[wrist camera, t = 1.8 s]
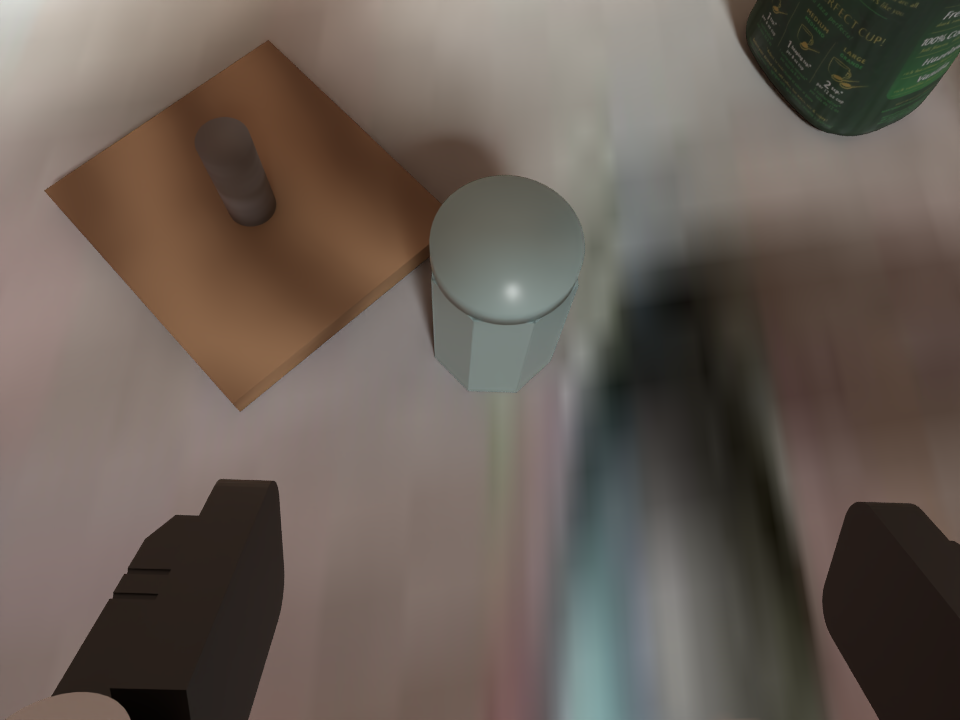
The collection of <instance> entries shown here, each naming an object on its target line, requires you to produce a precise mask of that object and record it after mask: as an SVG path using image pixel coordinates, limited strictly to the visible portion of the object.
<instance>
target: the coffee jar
mask: <svg viewBox="0 0 960 720" xmlns="http://www.w3.org/2000/svg"><path fill="white" fill-rule="evenodd" d="M746 37H747V41H748V45H749V47H750V49H751V51H752V53H753V55H754V57H755V58H756V60H757V62H758V63H759V65H760V67H761V68H762V69H763V71H764V72H765V74H766V75H767V76H768V78H769V80H770V81H771V82H772V83H773V84H774V85H775V87H776V88H777V89H778V90H779V92H780V93H781V94H782V95H783V96H784V97H785V99H786V100H787V101H788V102H789V103H790V104H791V105H792V106H793V107H794V108H795V109H796V110H797V111H798V112H799V113H800V114H801V115H802V116H803V117H804V118H805V119H806V120H807V121H808V122H810V123H811V124H812V125H813V126H815V127H816V128H818V129H820V130H822V131H824V132H826V133H832V134H837V135H842V136H857V135H863V134H867V133H870V132H873V131H877V130H879V129H881V128H883V127H885V126H888V125H890V124H892V123H894V122H896V121H898V120H900V119H902V118H903V117H905V116H906V115H908V114H910V113H911V112H912V111H913V110H915V109H916V108H917V107H918V106H919V105H920V104H921V103H922V102H923V101H924V100H925V99H926V97H927V96H928V95H929V94H930V92H931V91H932V90H933V89H934V87H935V86H936V85H937V83H938V82H939V81H940V79H941V78H942V77H943V75H944V74H945V73H946V71H947V70H948V68H949V67H950V66H951V64H952V63H953V61H954V60H955V58H956V57H957V56H958V54H959V53H960V0H757V2H756V4H755V6H754V7H753V9H752V11H751V13H750V15H749V18H748V21H747V26H746Z"/></svg>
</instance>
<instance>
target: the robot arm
mask: <svg viewBox="0 0 960 720" xmlns="http://www.w3.org/2000/svg"><path fill="white" fill-rule="evenodd" d="M283 590H284V560H283V546H282V531H281V516H280V502H279V491H278V486H277V484H276V482H275V481H261V480H231V479H220V480H218V481H217V483H216V484H215V486H214V488H213V490H212V492H211V494H210V495H209V497H208V499H207V501H206V503H205V505H204V507H203V509H202V511H201V513H200V515H199V516H190V515H175V516H174V517H173V518H171V519H170V520H169V521H167V522H166V523H165V524H164V525H162V526H161V527H160V528H159V529H157V530H156V531H155V532H154V533H152V534H151V535H150V536H149V537H147V538H146V539H145V540H144V542H143V544H142V545H141V547H140V549H139V550H138V552H137V554H136V555H135V557H134V559H133V560H132V562H131V564H130V565H129V567H128V573H127V574H124V575H123V577H122V579H121V580H120V582H119V584H118V586H117V587H116V589H115V591H114V592H113V598H112V599H109V601H108V602H107V604H106V606H105V607H104V609H103V611H102V612H101V614H100V616H99V617H98V619H97V621H96V622H95V624H94V626H93V627H92V629H91V631H90V632H89V634H88V636H87V638H86V639H85V641H84V643H83V644H82V646H81V648H80V649H79V651H78V653H77V654H76V656H75V658H74V659H73V661H72V663H71V664H70V666H69V668H68V669H67V671H66V673H65V674H64V676H63V678H62V679H61V681H60V683H59V684H58V686H57V688H56V689H55V691H54V693H53V694H52V696H51V697H48V698H46V699H43V700H40V701H38V702H35V703H33V704H31V705H29V706H27V707H25V708H23V709H21V710H19V711H17V712H16V713H14V714H13V715H11V716H9V717H8V718H7V719H5V720H248V718H249V715H250V711H251V708H252V705H253V702H254V698H255V695H256V692H257V688H258V685H259V682H260V678H261V675H262V672H263V669H264V665H265V662H266V659H267V655H268V652H269V649H270V645H271V642H272V639H273V635H274V632H275V629H276V626H277V622H278V619H279V615H280V611H281V605H282V599H283ZM822 603H823V614H824V619H825V622H826V626H827V628H828V631H829V633H830V635H831V637H832V638H833V640H834V642H835V644H836V645H837V647H838V649H839V651H840V652H841V654H842V656H843V658H844V659H845V661H846V663H847V664H848V666H849V668H850V670H851V671H852V673H853V675H854V677H855V678H856V680H857V682H858V683H859V685H860V687H861V689H862V690H863V692H864V694H865V696H866V697H867V699H868V701H869V702H870V704H871V706H872V708H873V709H874V711H875V713H876V715H877V716H878V718H879V720H960V545H959V544H958V543H956V542H955V541H949V540H948V539H947V537H946V536H945V535H944V534H943V533H942V532H941V531H940V530H939V529H938V527H937V526H936V525H935V524H934V523H933V522H932V521H931V520H930V519H929V517H928V516H927V515H926V514H925V513H924V512H923V511H922V510H921V509H920V508H919V507H918V506H916V505H914V504H909V503H879V502H856V503H854V504H853V505H851V507H850V508H849V509H848V511H847V513H846V516H845V519H844V522H843V525H842V529H841V532H840V535H839V539H838V542H837V545H836V548H835V552H834V555H833V558H832V562H831V565H830V568H829V571H828V575H827V578H826V581H825V585H824V589H823V598H822Z"/></svg>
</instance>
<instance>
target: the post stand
mask: <svg viewBox="0 0 960 720" xmlns="http://www.w3.org/2000/svg"><path fill="white" fill-rule="evenodd" d="M44 191H45V192H46V193H47V194H48V196H49V197H50V198H51V199H52V200H53V201H54V202H55V203H56V205H57V206H58V207H59V208H60V209H61V210H62V211H63V212H64V214H65V215H66V216H67V217H68V218H69V219H70V220H71V222H72V223H73V224H74V225H75V226H76V227H77V228H78V229H79V231H80V232H81V233H82V234H83V235H84V236H85V237H86V238H87V240H88V241H89V242H90V243H91V244H92V245H93V246H94V247H95V249H96V250H97V251H98V252H99V253H100V254H101V255H102V257H103V258H104V259H105V260H106V261H107V262H108V263H109V264H110V266H111V267H112V268H113V269H114V270H115V271H116V272H117V273H118V275H119V276H120V277H121V278H122V279H123V280H124V281H125V283H126V284H127V285H128V286H129V287H130V288H131V289H132V290H133V292H134V293H135V294H136V295H137V296H138V297H139V298H140V299H141V301H142V302H143V303H144V304H145V305H146V306H147V307H148V308H149V310H150V311H151V312H152V313H153V314H154V315H155V316H156V318H157V319H158V320H159V321H160V322H161V323H162V324H163V325H164V327H165V328H166V329H167V330H168V331H169V332H170V333H171V334H172V336H173V337H174V338H175V339H176V340H177V341H178V342H179V344H180V345H181V346H182V347H183V348H184V349H185V350H186V351H187V353H188V354H189V355H190V356H191V357H192V358H193V359H194V360H195V362H196V363H197V364H198V365H199V366H200V367H201V368H202V369H203V371H204V372H205V373H206V374H207V375H208V376H209V377H210V379H211V380H212V381H213V382H214V383H215V384H216V385H217V386H218V388H219V389H220V390H221V391H222V392H223V393H224V394H225V395H226V397H227V398H228V399H229V400H230V401H231V402H232V403H233V404H234V406H235V407H236V408H237V409H238V410H239V411H240V412H241V411H242V410H243V409H244V408H245V407H247V406H248V405H249V404H250V403H251V402H253V401H254V400H255V399H256V398H258V397H259V396H260V395H261V394H262V393H264V392H265V391H266V390H267V389H269V388H270V387H271V386H272V385H273V384H275V383H276V382H277V381H278V380H280V379H281V378H282V377H283V376H284V375H286V374H287V373H288V372H289V371H291V370H292V369H293V368H294V367H295V366H297V365H298V364H299V363H300V362H301V361H303V360H304V359H305V358H306V357H308V356H309V355H310V354H311V353H312V352H314V351H315V350H316V349H317V348H319V347H320V346H321V345H322V344H323V343H325V342H326V341H327V340H328V339H330V338H331V337H332V336H333V335H334V334H336V333H337V332H338V331H339V330H340V329H342V328H343V327H344V326H345V325H347V324H348V323H349V322H350V321H351V320H353V319H354V318H355V317H356V316H358V315H359V314H360V313H361V312H362V311H364V310H365V309H366V308H367V307H369V306H370V305H371V304H372V303H373V302H375V301H376V300H377V299H378V298H379V297H381V296H382V295H383V294H384V293H386V292H387V291H388V290H389V289H390V288H392V287H393V286H394V285H395V284H397V283H398V282H399V281H400V280H401V279H403V278H404V277H405V276H406V275H408V274H409V273H410V272H411V271H412V270H414V269H415V268H416V267H417V266H418V265H420V264H421V263H422V262H423V261H425V260H426V259H427V258H428V257H429V256H430V242H429V239H430V231H431V227H432V223H433V220H434V218H435V216H436V213H437V212H438V210H439V209H440V207H441V205H442V204H441V203H440V202H439V201H438V200H437V199H435V198H434V197H433V196H432V195H431V194H430V193H429V192H428V191H427V190H426V189H425V188H424V187H423V186H422V185H421V184H420V183H419V182H418V181H416V180H415V179H414V178H413V177H412V176H411V175H410V174H409V173H408V172H407V171H406V170H405V169H404V168H403V167H402V166H401V165H400V164H399V163H397V162H396V161H395V160H394V159H393V158H392V157H391V156H390V155H389V154H388V153H387V152H386V151H385V150H384V149H383V148H382V147H381V146H380V145H378V144H377V143H376V142H375V141H374V140H373V139H372V138H371V137H370V136H369V135H368V134H367V133H366V132H365V131H364V130H363V129H362V128H361V127H359V126H358V125H357V124H356V123H355V122H354V121H353V120H352V119H351V118H350V117H349V116H348V115H347V114H346V113H345V112H344V111H343V110H342V109H340V108H339V107H338V106H337V105H336V104H335V103H334V102H333V101H332V100H331V99H330V98H329V97H328V96H327V95H326V94H325V93H324V92H323V91H321V90H320V89H319V88H318V87H317V86H316V85H315V84H314V83H313V82H312V81H311V80H310V79H309V78H308V77H307V76H306V75H305V74H304V73H302V72H301V71H300V70H299V69H298V68H297V67H296V66H295V65H294V64H293V63H292V62H291V61H290V60H289V59H288V58H287V57H286V56H285V55H283V54H282V53H281V52H280V51H279V50H278V49H277V48H276V47H275V46H274V45H273V44H272V43H271V42H270V41H269V40H268V41H266V42H265V43H263V44H262V45H260V46H259V47H257V48H256V49H254V50H253V51H251V52H250V53H248V54H247V55H245V56H244V57H242V58H241V59H239V60H238V61H236V62H235V63H233V64H232V65H230V66H229V67H227V68H226V69H224V70H223V71H222V72H220V73H219V74H217V75H216V76H214V77H213V78H211V79H210V80H208V81H207V82H205V83H204V84H202V85H201V86H199V87H198V88H196V89H195V90H193V91H192V92H190V93H189V94H187V95H186V96H184V97H183V98H181V99H180V100H178V101H177V102H175V103H174V104H172V105H171V106H169V107H168V108H166V109H165V110H163V111H162V112H161V113H159V114H158V115H156V116H155V117H153V118H152V119H150V120H149V121H147V122H146V123H144V124H143V125H141V126H140V127H138V128H137V129H135V130H134V131H132V132H131V133H129V134H128V135H126V136H125V137H123V138H122V139H120V140H119V141H117V142H116V143H114V144H113V145H111V146H110V147H108V148H107V149H105V150H104V151H102V152H101V153H99V154H98V155H97V156H95V157H94V158H92V159H91V160H89V161H88V162H86V163H85V164H83V165H82V166H80V167H79V168H77V169H76V170H74V171H73V172H71V173H70V174H68V175H67V176H65V177H64V178H62V179H61V180H59V181H58V182H56V183H55V184H53V185H52V186H50V187H49V188H47V189H46V190H44Z"/></svg>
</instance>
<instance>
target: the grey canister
mask: <svg viewBox="0 0 960 720" xmlns="http://www.w3.org/2000/svg"><path fill="white" fill-rule="evenodd" d="M429 242H430V263H431V269H432V279H431V288H432V308H433V329H434V350H435V358H436V359H437V360H438V361H439V362H440V363H441V364H442V365H443V366H444V367H445V368H446V369H447V370H448V371H449V372H450V373H451V374H452V375H453V376H454V377H455V378H456V379H457V380H458V381H459V382H460V383H461V384H462V385H463V386H464V387H465V388H466V389H467V390H468V391H488V392H517V391H519V390H520V389H521V388H522V387H523V386H524V385H525V384H526V383H527V382H528V381H529V380H530V379H532V378H533V377H534V376H535V375H536V374H537V373H538V372H539V371H540V370H541V369H542V368H544V367H545V366H546V365H547V364H548V363H549V362H550V361H551V358H552V356H553V353H554V350H555V348H556V345H557V342H558V339H559V337H560V334H561V331H562V329H563V326H564V323H565V321H566V318H567V315H568V312H569V310H570V307H571V304H572V302H573V299H574V296H575V293H576V291H577V288H578V275H579V272H580V269H581V267H582V264H583V259H584V254H585V241H584V234H583V230H582V227H581V224H580V222H579V219H578V217H577V216H576V214H575V212H574V210H573V209H572V208H571V206H570V205H569V204H568V203H567V202H566V201H565V200H564V199H563V198H562V197H561V196H560V195H559V194H558V193H556V192H555V191H554V190H552V189H551V188H549V187H547V186H546V185H544V184H541V183H539V182H537V181H534V180H531V179H528V178H524V177H519V176H511V175H498V176H490V177H485V178H481V179H478V180H475V181H473V182H470V183H468V184H466V185H464V186H463V187H461V188H459V189H458V190H457V191H455V192H454V193H453V194H452V195H451V196H449V197H448V198H447V199H446V201H445V202H444V203H443V204H442V205H441V207H440V209H439V210H438V212H437V213H436V216H435V218H434V220H433V223H432V227H431V231H430V239H429Z"/></svg>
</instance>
